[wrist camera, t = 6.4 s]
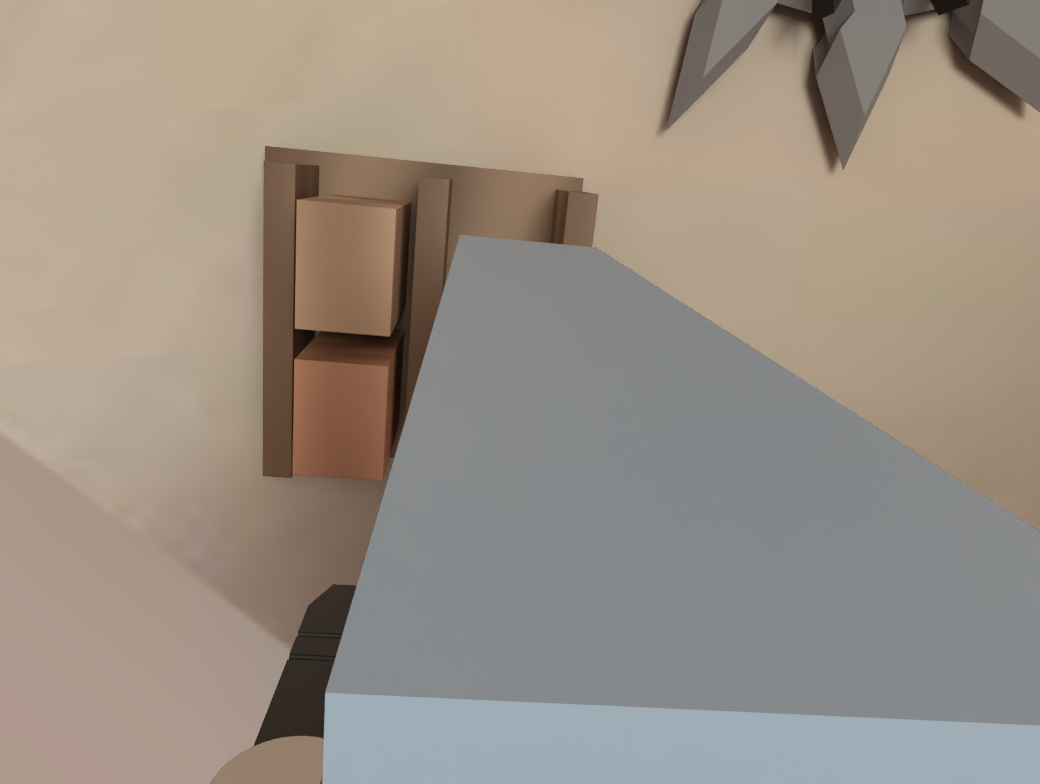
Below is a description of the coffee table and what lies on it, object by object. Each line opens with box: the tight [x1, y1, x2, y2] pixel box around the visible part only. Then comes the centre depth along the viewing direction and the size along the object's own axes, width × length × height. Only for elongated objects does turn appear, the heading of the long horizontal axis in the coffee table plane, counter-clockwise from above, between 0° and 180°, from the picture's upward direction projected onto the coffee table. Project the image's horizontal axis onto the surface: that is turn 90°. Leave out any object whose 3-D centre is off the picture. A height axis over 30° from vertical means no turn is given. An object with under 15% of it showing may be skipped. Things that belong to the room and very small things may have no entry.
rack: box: [263, 146, 598, 478], centre depth 29 cm, size 12×12×6 cm
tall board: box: [323, 235, 1040, 784], centre depth 11 cm, size 3×9×15 cm, turn 175°
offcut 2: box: [293, 329, 404, 480], centre depth 28 cm, size 3×4×6 cm
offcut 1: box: [295, 194, 412, 336], centre depth 26 cm, size 3×4×6 cm
